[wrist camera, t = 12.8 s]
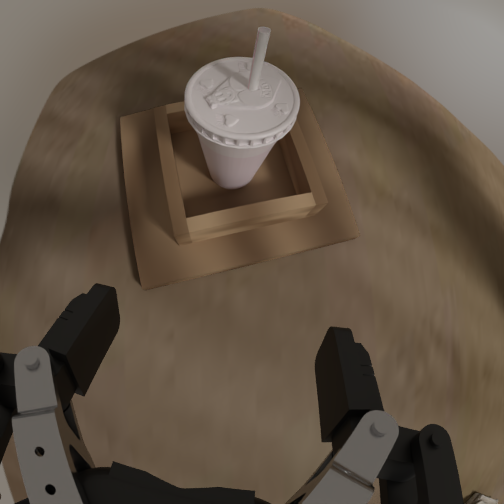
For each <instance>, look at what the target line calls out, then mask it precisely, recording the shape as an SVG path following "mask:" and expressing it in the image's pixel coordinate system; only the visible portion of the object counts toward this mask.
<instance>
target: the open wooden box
mask: <svg viewBox="0 0 504 504" xmlns="http://www.w3.org/2000/svg"><path fill="white" fill-rule="evenodd" d="M297 90H298V93H299V97H300V107H299V111H298V114H297V118H296V121H295V123H294V125H293V127H292V129H291V130H290V131H289V132H288V133H287V134H286V135H285V136H284V137H283V138H282V139H280V140H278V141H277V142H276V143H275V144H274V146H273V147H272V149H271V150H270V152H269V153H268V155H267V156H266V158H265V160H264V161H263V163H262V164H261V166H260V167H259V169H258V170H257V172H256V173H255V175H254V177H253V178H252V180H251V181H250V182H249V183H248V184H247V185H246V186H244V187H242V188H239V189H226V188H223V187H221V186H219V185H218V184H216V183H215V182H214V181H213V179H212V177H211V175H210V172H209V169H208V166H207V163H206V159H205V156H204V153H203V150H202V147H201V143H200V140H199V137H198V134H197V132H196V131H195V129H194V128H193V127H192V126H191V124H190V123H189V122H188V119H187V116H186V113H185V111H184V104H185V101H182V102H177V103H172V104H167V105H163V106H159V107H154V108H153V109H149V110H145V111H141V112H137V113H133V114H130V115H126V116H122V117H120V125H121V142H122V156H123V167H124V178H125V187H126V196H127V204H128V211H129V218H130V225H131V232H132V238H133V244H134V250H135V256H136V261H137V266H138V272H139V277H140V282H141V286H142V289H144V290H149V289H153V288H157V287H161V286H166V285H170V284H174V283H178V282H182V281H187V280H191V279H195V278H199V277H203V276H207V275H212V274H216V273H220V272H224V271H228V270H232V269H236V268H240V267H245V266H249V265H253V264H257V263H261V262H265V261H269V260H273V259H277V258H281V257H285V256H289V255H293V254H297V253H301V252H305V251H309V250H313V249H317V248H321V247H325V246H329V245H333V244H336V243H340V242H344V241H348V240H352V239H355V238H357V237H359V236H360V233H359V230H358V227H357V224H356V221H355V218H354V215H353V212H352V209H351V206H350V203H349V200H348V198H347V195H346V192H345V189H344V187H343V184H342V181H341V179H340V176H339V173H338V171H337V168H336V166H335V163H334V161H333V158H332V156H331V153H330V151H329V148H328V146H327V143H326V141H325V139H324V136H323V134H322V132H321V129H320V127H319V125H318V122H317V120H316V118H315V116H314V113H313V111H312V109H311V107H310V105H309V103H308V100H307V98H306V96H305V94H304V92H303V90H302V88H297Z"/></svg>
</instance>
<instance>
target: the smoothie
mask: <svg viewBox="0 0 504 504" xmlns="http://www.w3.org/2000/svg"><path fill="white" fill-rule="evenodd" d="M270 32H271V30H270V29H269V28H267V27H259V28H258V32H257V38H256V43H255V48H254V54H253V58H249V57H229V58H223V59H219V60H216V61H213V62H211V63H209V64H207V65H205V66H203V67H202V68H200V69H199V70H198V71H197V72H195V73H194V75H193V76H192V77H191V78H190V80H189V81H188V83H187V86H186V89H185V104H184V111H185V113H186V116H187V119H188V122H189V123H190V124H191V126H192V127H193V128H194V129H195V131H196V132H197V134H198V137H199V140H200V143H201V147H202V150H203V153H204V156H205V159H206V163H207V166H208V169H209V172H210V175H211V177H212V179H213V181H214V182H215V183H216V184H218V185H219V186H221V187H223V188H226V189H239V188H242V187H244V186H246V185H247V184H248V183H249V182H250V181H251V180H252V178H253V177H254V175H255V173H256V172H257V170H258V169H259V167H260V166H261V164H262V163H263V161H264V160H265V158H266V156H267V155H268V153H269V152H270V150H271V149H272V147H273V146H274V144H275V143H276V142H277V141H278V140H280V139H282V138H283V137H284V136H285V135H286V134H287V133H288V132H289V131H290V130H291V129H292V127H293V125H294V123H295V121H296V118H297V114H298V111H299V107H300V97H299V93H298V90H297V88H296V86H295V84H294V82H293V81H292V80H291V79H290V77H289V76H288V75H287V74H286V73H284V72H283V71H282V70H280V69H279V68H277V67H276V66H274V65H272V64H270V63H268V62H265V61H264V58H265V54H266V49H267V45H268V41H269V36H270Z"/></svg>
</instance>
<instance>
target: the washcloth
mask: <svg viewBox="0 0 504 504" xmlns="http://www.w3.org/2000/svg"><path fill="white" fill-rule="evenodd" d="M497 503H498V499H496V500H494V499H491V498H489V497H486V496H484V495H482V494H480V493H475V494H473V496H472V497H471V498H470V499H469V500H468V501H467V502H466V503H465V504H497Z"/></svg>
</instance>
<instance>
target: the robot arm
mask: <svg viewBox="0 0 504 504" xmlns="http://www.w3.org/2000/svg"><path fill="white" fill-rule="evenodd" d="M119 325H120V315H119V308H118V301H117V294H116V289H115V288H114V287H110V286H106V285H102V284H98V283H96V284H94V285H93V287H92V288H91V289H90V291H89V292H88V293H87V294H84V293H82V294H81V295H79V296H77V297H76V298H74V299H73V300H72V301H71V302H70V303H69V304H68V306H67V307H66V308H65V311H63V312H62V314H61V315H60V316H59V318H58V319H57V320H56V322H55V323H54V324H53V326H52V327H51V328H50V330H49V331H48V332H47V334H46V335H45V337H44V338H43V339H42V341H41V342H40V344H39V345H38V346H30V347H26V348H24V349H23V350H21V351H20V352H19V353H18V354H8V353H0V464H1V461H2V458H3V456H4V453H5V450H6V448H7V445H8V443H9V440H10V438H11V435H12V433H13V434H14V440H15V445H16V451H17V456H18V461H19V465H20V469H21V474H22V477H23V481H24V485H25V489H26V492H27V495H28V498H26V499H24V500H22V501H19V502H17V503H15V504H270V503H269V502H267V501H264V500H262V499H259V498H256V497H255V491H250V490H239V489H231V488H223V487H212V488H186V489H184V488H178V487H176V486H174V485H171V484H169V483H167V482H165V481H163V480H161V479H159V478H157V477H155V476H153V475H151V474H149V473H148V472H146V471H142V470H139V469H135V468H132V467H129V466H126V465H123V464H120V463H117V462H114V461H113V463H112V466H111V467H97V468H96V467H95V465H94V462H93V460H92V458H91V456H90V454H89V452H88V450H87V448H86V446H85V444H84V441H83V438H82V435H81V431H80V428H79V425H78V421H77V418H76V414H75V410H74V407H73V403H72V400H71V399H72V397H73V395H74V393H76V394H79V395H82V396H85V394H86V392H87V390H88V388H89V386H90V384H91V382H92V380H93V378H94V376H95V374H96V372H97V370H98V368H99V366H100V364H101V362H102V360H103V358H104V357H105V355H106V353H107V351H108V349H109V347H110V345H111V343H112V341H113V340H114V338H115V336H116V334H117V332H118V329H119ZM315 375H316V384H317V394H318V404H319V415H320V426H321V439H322V442H332V448H333V449H332V450H331V451H330V453H329V454H328V455H327V457H326V458H325V459H324V461H323V462H322V463H321V464H320V466H319V467H318V468H317V469H316V471H315V472H314V473H313V474H312V475H311V477H310V478H309V479H308V480H307V481H306V483H305V484H304V485H303V486H302V487H301V488H300V489H299V490H298V491H297V492H296V493H295V494H294V495H293V496H292V497H291V498H290V499H289V500H288V501H287V502H286V503H285V504H367V503H368V501H369V500H370V498H371V496H372V495H373V492H374V487H373V486H372V485H373V482H374V480H375V479H376V478H379V485H380V499H381V504H464V503H463V497H462V491H461V485H460V480H459V474H458V470H457V465H456V460H455V456H454V452H453V447H452V443H451V439H450V436H449V434H448V433H447V431H446V430H445V429H444V428H443V427H441V426H439V425H436V424H430V425H427V426H425V427H424V428H423V429H422V430H421V431H417V430H412V429H408V428H404V427H400V426H398V424H397V422H396V420H395V419H394V418H393V417H392V416H391V415H390V414H388V413H386V412H384V409H383V405H382V401H381V397H380V393H379V389H378V385H377V382H376V378H375V376H374V371H373V367H372V364H371V360H370V357H369V354H368V352H367V351H366V350H365V348H364V347H363V346H362V344H361V343H355V342H354V338H353V334H352V331H351V329H349V328H340V327H330V328H329V329H328V331H327V333H326V335H325V337H324V340H323V342H322V344H321V346H320V348H319V351H318V353H317V356H316V360H315ZM0 499H1V494H0Z"/></svg>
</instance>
